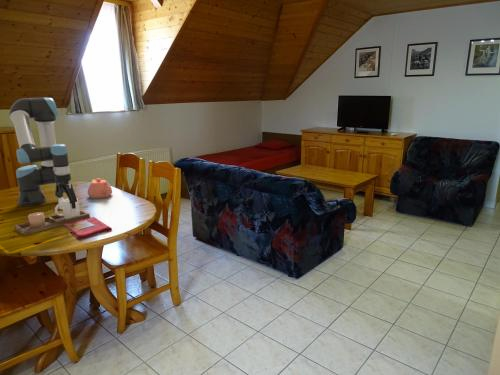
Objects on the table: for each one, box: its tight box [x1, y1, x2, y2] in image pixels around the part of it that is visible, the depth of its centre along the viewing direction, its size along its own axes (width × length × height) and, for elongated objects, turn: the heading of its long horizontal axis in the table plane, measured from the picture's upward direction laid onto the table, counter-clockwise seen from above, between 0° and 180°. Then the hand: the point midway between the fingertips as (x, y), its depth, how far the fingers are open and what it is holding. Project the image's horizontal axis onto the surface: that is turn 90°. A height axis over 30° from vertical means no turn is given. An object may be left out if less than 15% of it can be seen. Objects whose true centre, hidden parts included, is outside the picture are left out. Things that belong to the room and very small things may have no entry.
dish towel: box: [63, 216, 113, 240], centre depth 188 cm, size 17×24×3 cm
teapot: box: [87, 177, 113, 200], centre depth 240 cm, size 22×15×12 cm
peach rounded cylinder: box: [27, 211, 46, 229], centre depth 187 cm, size 7×7×7 cm
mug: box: [54, 197, 81, 219], centre depth 199 cm, size 12×8×10 cm
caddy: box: [14, 208, 91, 236], centre depth 193 cm, size 13×33×3 cm, turn 141°
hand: (68, 211), depth 198 cm, fingers open, 13 cm apart
